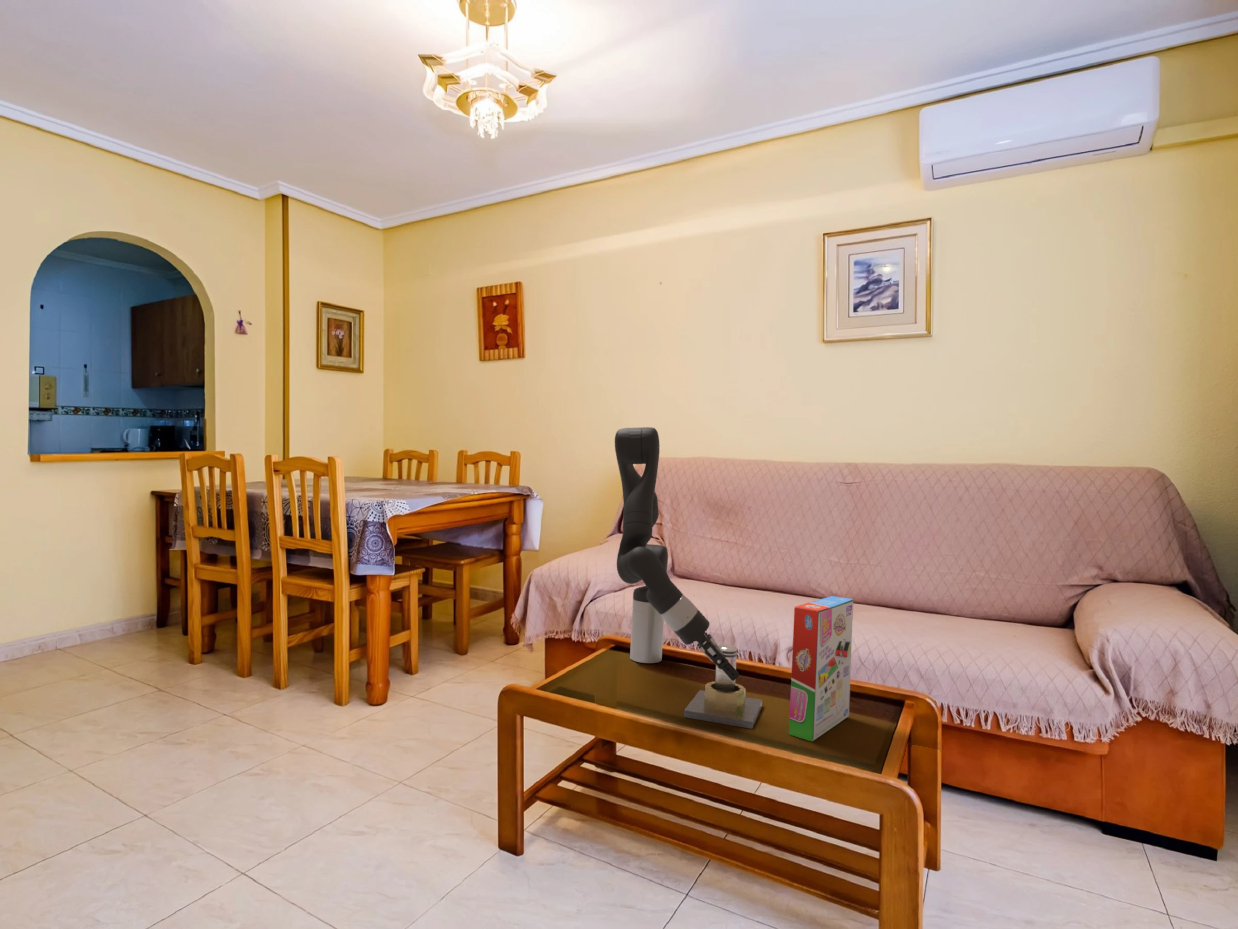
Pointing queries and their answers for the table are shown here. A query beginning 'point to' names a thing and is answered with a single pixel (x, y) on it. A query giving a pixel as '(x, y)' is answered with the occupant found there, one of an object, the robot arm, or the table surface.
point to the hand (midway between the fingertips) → (734, 674)
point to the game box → (820, 666)
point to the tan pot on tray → (724, 707)
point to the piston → (721, 677)
